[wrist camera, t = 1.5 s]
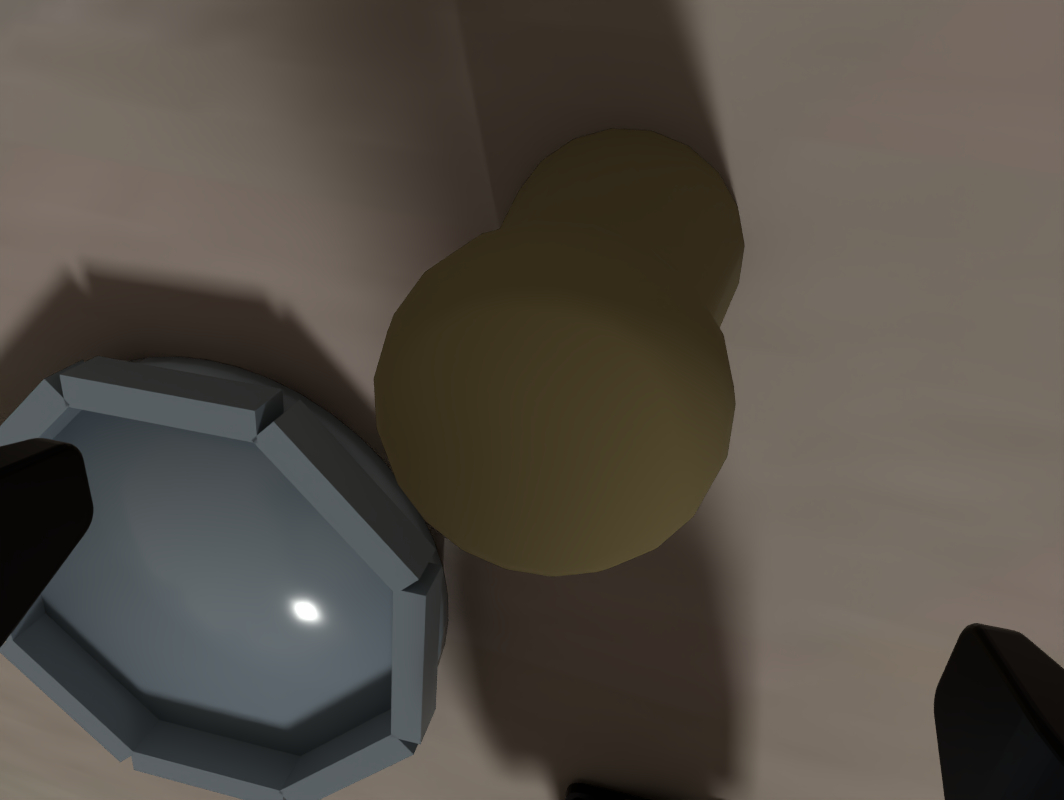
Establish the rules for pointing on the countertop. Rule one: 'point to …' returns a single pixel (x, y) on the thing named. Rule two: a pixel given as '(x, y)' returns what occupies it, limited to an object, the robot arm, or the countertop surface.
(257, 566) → the dish
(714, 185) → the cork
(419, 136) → the countertop surface
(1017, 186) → the countertop surface
